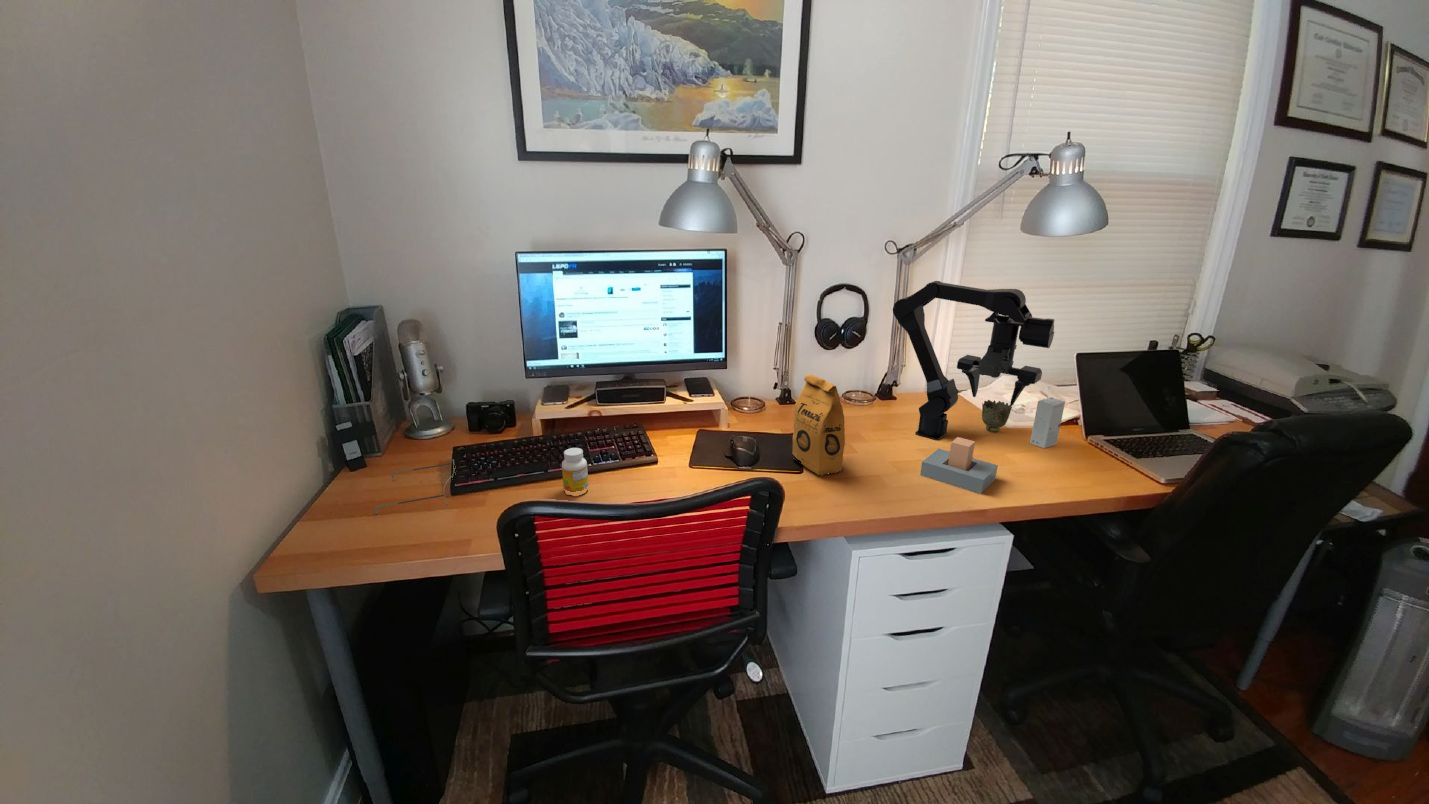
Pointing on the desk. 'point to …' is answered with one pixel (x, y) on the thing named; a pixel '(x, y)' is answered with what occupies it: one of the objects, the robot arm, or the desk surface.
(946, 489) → the desk surface
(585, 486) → the supplement bottle
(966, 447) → the terracotta peg
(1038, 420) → the skincare box
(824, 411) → the coffee package
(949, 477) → the socket block
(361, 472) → the desk surface
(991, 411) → the cup
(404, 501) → the eyeglasses
